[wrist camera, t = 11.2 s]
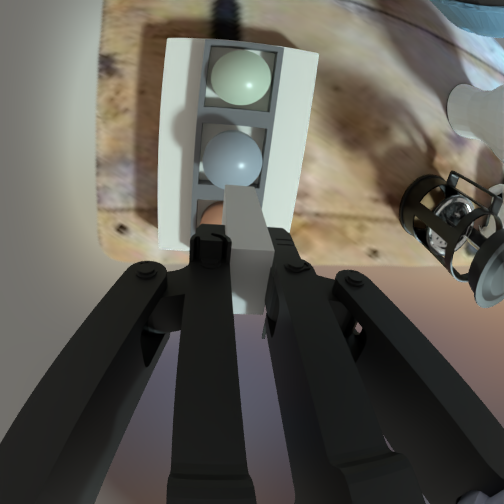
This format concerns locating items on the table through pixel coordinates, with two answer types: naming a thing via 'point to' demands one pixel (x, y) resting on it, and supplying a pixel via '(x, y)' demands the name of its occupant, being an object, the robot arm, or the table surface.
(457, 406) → the robot arm
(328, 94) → the table surface
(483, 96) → the cup
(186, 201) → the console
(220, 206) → the button terracotta
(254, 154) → the button slate
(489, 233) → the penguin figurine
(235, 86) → the button sage
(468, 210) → the french press
